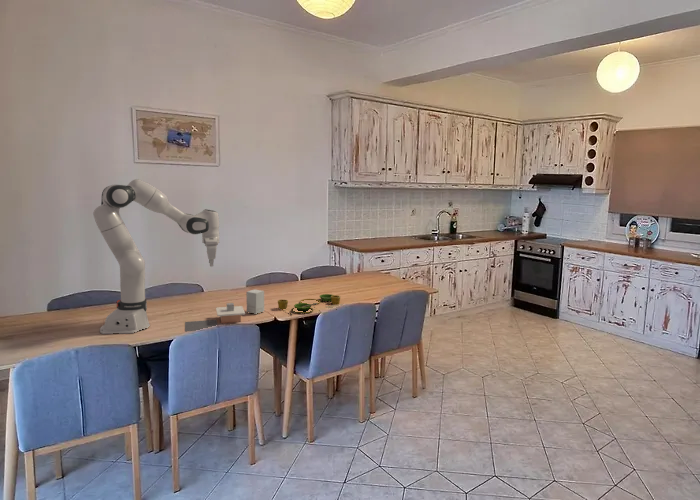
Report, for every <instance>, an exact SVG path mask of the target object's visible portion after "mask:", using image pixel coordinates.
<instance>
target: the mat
mask: <svg viewBox="0 0 700 500" xmlns="http://www.w3.org/2000/svg"><path fill="white" fill-rule="evenodd" d="M216 325H218V326H219V324H218V320H217V319H209V320H208V319H206V320H193V321H184V332H196V330H200V329H203V328H208V327H212V326H216ZM200 331H201V330H200Z"/></svg>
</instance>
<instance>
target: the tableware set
mask: <svg viewBox="0 0 700 500" xmlns="http://www.w3.org/2000/svg"><path fill="white" fill-rule="evenodd" d="M319 298H320V299H316V298H303V299H300V300H299V302H298V303H295V304H294V305H293V307H292V308H291V309H290V311H291V312H292V311H293V309H294V308H297V310H298V311H303V312H296V313H308V314H312V313H313V312H314V309H313V308H311V307H313V306H315V305H316V304H317V305H319V304H320V303H321V301H322V302H324V301H330V302H331V304H332V305H326V306H325V308H327V309H329V308H333V307H337V306H339V305H340V306H344V305H343V304H342V303H341V296H340V295H335V294H332V293H331V294H330V293H326V294H324V293H323V294H320V295H319ZM304 300H316V301H318V302H319V303H313V304H307V303H302V302H301V301H304ZM288 301H289V300H287V299H278V300H277V306H278V309H279V308H280V309H286V308H288ZM317 305H316V306H317ZM309 309H311V310H312V311H310V312H306V311H308V310H309ZM286 310H287V309H286ZM293 312H295V311H293ZM293 312H292V313H293ZM296 313H295V314H296Z"/></svg>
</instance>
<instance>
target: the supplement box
mask: <svg viewBox="0 0 700 500" xmlns="http://www.w3.org/2000/svg"><path fill="white" fill-rule="evenodd" d="M245 295H246V313H247V312H249V313H254V314H257V313H260V312H263V311H264V312H265V291H264V290H261V289H255V288H254V289H251V290H247V291H246V294H245ZM264 312H263V313H264ZM249 313H248V314H249ZM254 314H253V315H254ZM260 314H261V313H260ZM257 315H258V314H257Z"/></svg>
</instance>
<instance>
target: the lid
mask: <svg viewBox="0 0 700 500" xmlns="http://www.w3.org/2000/svg"><path fill="white" fill-rule="evenodd" d="M215 311H216V315H217V317H220V316H231V315H241V316H243V315H246V312H245V310H244V306H243V305H239V306H238V305H236V306H235V304H234V303H233V302H226V306H221V307H219V306H218V307H215Z"/></svg>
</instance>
